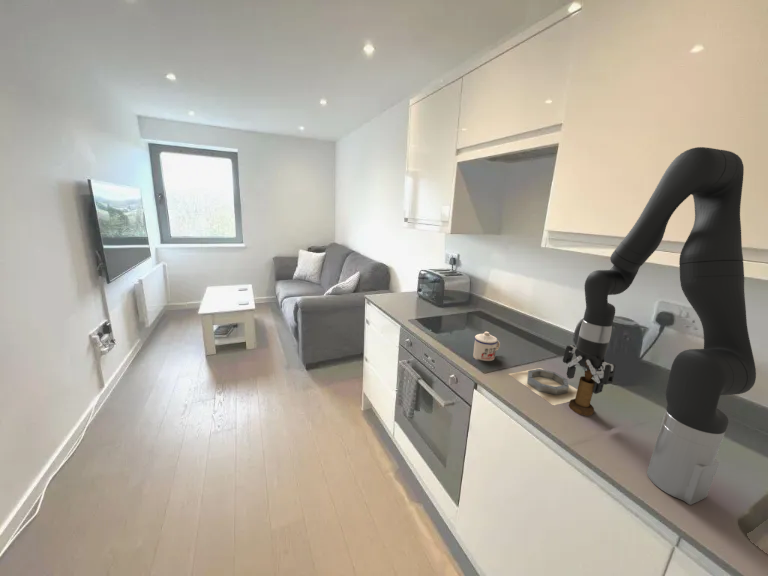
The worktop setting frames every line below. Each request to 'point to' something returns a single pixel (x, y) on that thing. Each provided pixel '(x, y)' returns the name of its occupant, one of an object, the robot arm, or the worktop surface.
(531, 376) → the steel collar
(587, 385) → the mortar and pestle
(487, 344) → the teacup with lid
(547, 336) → the worktop surface
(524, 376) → the beech board
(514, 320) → the worktop surface
